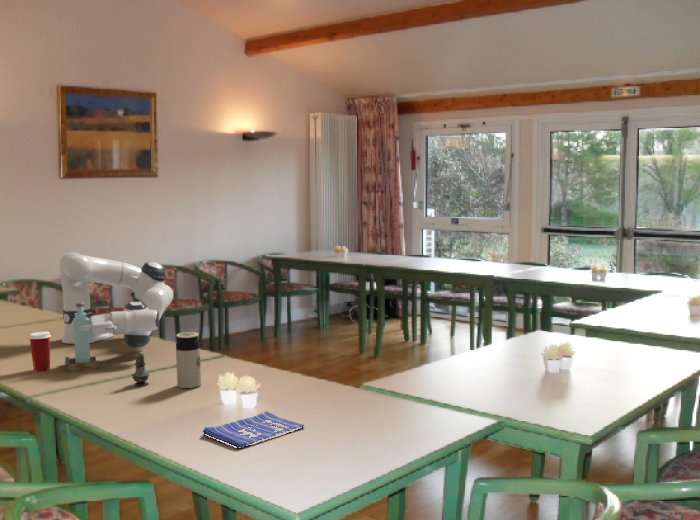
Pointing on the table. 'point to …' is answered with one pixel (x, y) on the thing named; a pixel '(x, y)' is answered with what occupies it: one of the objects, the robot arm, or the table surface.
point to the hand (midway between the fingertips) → (78, 326)
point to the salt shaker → (140, 371)
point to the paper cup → (40, 350)
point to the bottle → (81, 336)
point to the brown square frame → (81, 364)
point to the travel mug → (188, 360)
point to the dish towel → (234, 438)
